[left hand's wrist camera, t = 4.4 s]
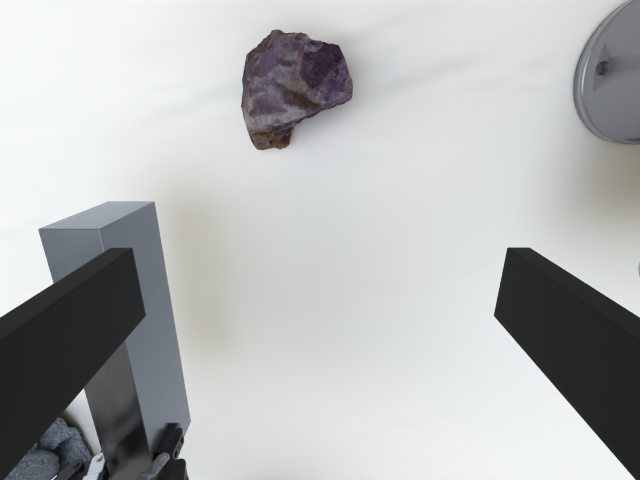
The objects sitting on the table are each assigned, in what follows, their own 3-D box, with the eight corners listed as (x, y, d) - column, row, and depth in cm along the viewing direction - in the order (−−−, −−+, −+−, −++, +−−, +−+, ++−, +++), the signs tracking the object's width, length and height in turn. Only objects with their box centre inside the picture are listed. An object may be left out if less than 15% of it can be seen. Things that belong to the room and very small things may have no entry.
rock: (350, 112, 40) (312, 23, 37) (372, 107, 32) (325, -7, 29) (262, 159, 40) (216, 74, 37) (261, 166, 32) (202, 58, 29)
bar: (108, 201, 33) (37, 228, 24) (154, 201, 33) (99, 228, 24) (154, 421, 42) (114, 494, 34) (191, 421, 42) (159, 494, 34)
